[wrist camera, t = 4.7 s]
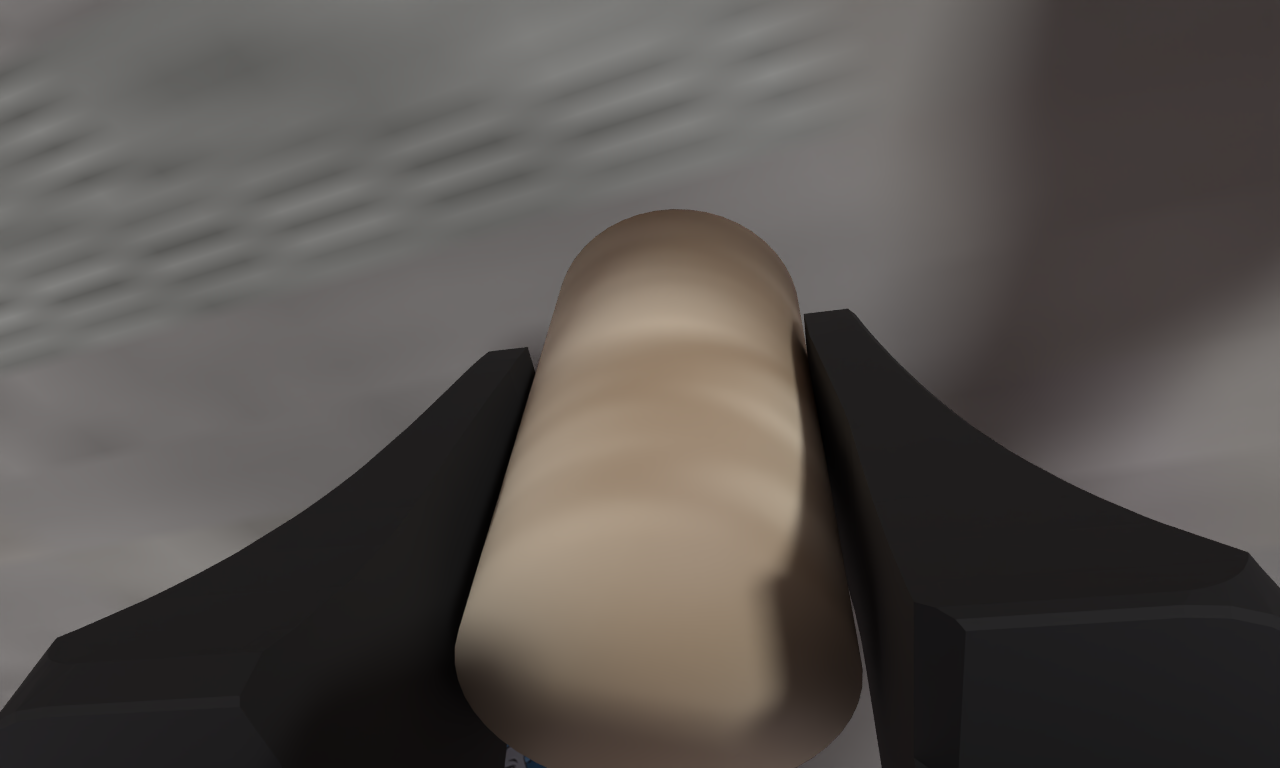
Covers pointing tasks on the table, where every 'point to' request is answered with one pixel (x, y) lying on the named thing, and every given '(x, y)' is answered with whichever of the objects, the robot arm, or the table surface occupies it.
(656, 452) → the beige cylinder
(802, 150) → the table surface
